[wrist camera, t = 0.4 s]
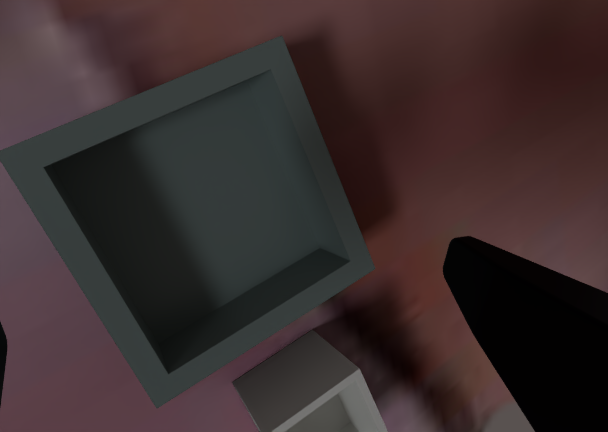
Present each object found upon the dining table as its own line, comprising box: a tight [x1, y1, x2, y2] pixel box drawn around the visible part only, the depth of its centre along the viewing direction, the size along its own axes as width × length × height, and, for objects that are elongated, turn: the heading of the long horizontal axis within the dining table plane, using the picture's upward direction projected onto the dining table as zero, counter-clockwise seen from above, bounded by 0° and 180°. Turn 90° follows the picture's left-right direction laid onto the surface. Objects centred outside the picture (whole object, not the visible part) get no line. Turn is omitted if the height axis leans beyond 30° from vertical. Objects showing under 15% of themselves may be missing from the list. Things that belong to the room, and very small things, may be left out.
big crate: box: [0, 36, 375, 408], centre depth 20 cm, size 11×11×4 cm
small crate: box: [232, 330, 388, 432], centre depth 23 cm, size 6×5×5 cm
